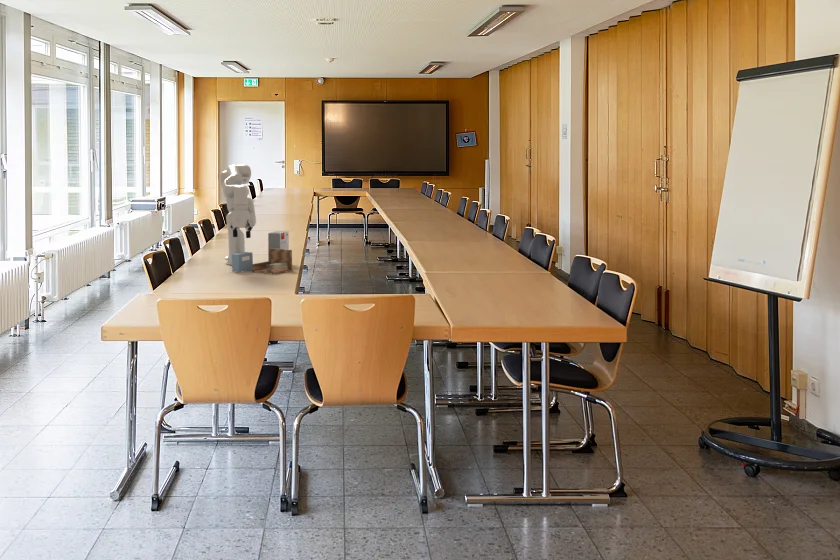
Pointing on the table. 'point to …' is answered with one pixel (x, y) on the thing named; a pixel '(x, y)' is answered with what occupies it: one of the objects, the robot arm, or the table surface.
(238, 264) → the book
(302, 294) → the table surface
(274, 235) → the hard drive box
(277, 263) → the shelf
